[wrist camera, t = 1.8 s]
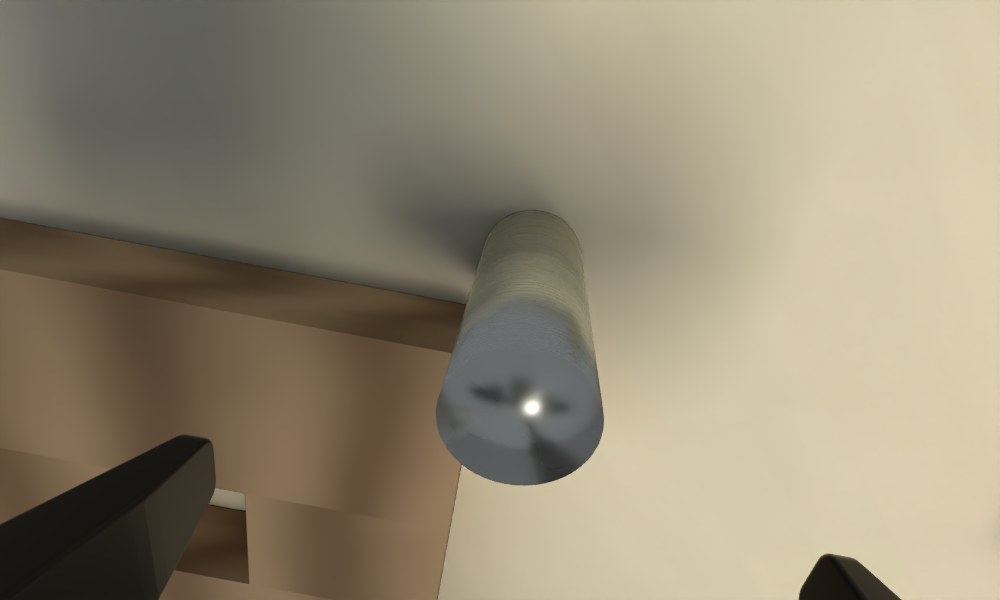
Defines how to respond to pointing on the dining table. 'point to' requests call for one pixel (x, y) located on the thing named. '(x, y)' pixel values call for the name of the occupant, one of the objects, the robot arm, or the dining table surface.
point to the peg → (524, 359)
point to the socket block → (234, 409)
